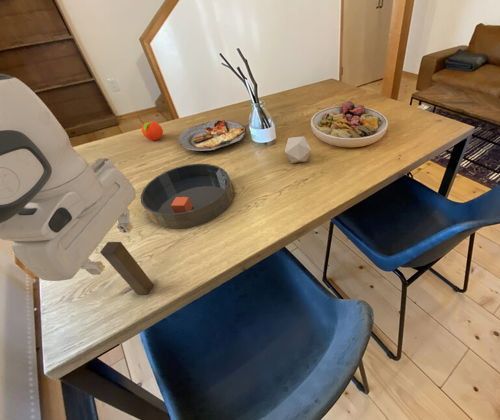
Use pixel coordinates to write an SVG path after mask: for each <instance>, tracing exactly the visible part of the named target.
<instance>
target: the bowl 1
mask: <svg viewBox="0 0 500 420" xmlns="http://www.w3.org/2000/svg"><path fill="white" fill-rule="evenodd" d="M139 196H140V204H141V206H142V208H143V209H144V210H145V212H146V214H147V215H148V217H149V219H150V220H151V221H152V222H153V223H154V224H156V225H157V226H159V227H163V228H166V229H173V230H174V229H175V230H178V229H179V230H181V229H189V228H193V227H197V226H200V225H203V224H206V223H207V222H210V221H212V220H213V219H216V218H217V217H218V216H220V215H221V214H223V212H224V211H226V210H227V209H228V207H229V206H230V205H231V203H232V201H233V198H234V188H233V185H232V181H231V178H230V176H229V174H228V171H226V170H225V169H224V168H223V167H220V166H218V165H215V164H211V163H210V164H209V163H192V164H185V165H181V166H177V167H174V168H171V169H169V170H166V171H164V172H162V173H160V174H159V175H157V176H155V177H154V178H153V179H152V180H150V181H149V182H148V183H147V184H146V185H145V186H144V188H143V189H142V191H141V193H140V195H139ZM176 197H189V199H190V201H191V203H192V206H193V207H192V209H191V210H190V211H187V212H181V213H174V211H173V209H172V207H171V204H172V203H173V201H174V199H175V198H176Z"/></svg>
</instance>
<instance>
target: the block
mask: <svg viewBox="0 0 500 420" xmlns="http://www.w3.org/2000/svg"><path fill="white" fill-rule="evenodd" d="M171 207H172V209H173V211H174V213H181V212H187V211H190V210H191V209H192V207H193V206H192V203H191V201H190V199H189V197H176V198H175V199H174V201H173V203H172V204H171Z"/></svg>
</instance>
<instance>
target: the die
mask: <svg viewBox="0 0 500 420" xmlns="http://www.w3.org/2000/svg"><path fill="white" fill-rule="evenodd" d="M311 151H312V149H311V147H310V145H309V144H308V141H307V139H306V137H305V136H304V135H302V136H293V137H288V138H287V141H286V145H285V148H284V152H285V155H286V156H287V158H288V160H289V161H290V163H291V164H296V163H306V162H307V161H308V159H309V156H310V154H311Z"/></svg>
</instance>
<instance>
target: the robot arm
mask: <svg viewBox="0 0 500 420" xmlns="http://www.w3.org/2000/svg"><path fill="white" fill-rule="evenodd" d="M136 193H137V192H136V189H135V187H134V186H133V184H132V183H131V182H130V180H129V179H128V178H127V177H126V175H125V174H124V173H123V172H122V171H121V170H119V169H118V168H117V166H116V165H115V163H114V162H113V160H111V159H109V158H107V157H104V158H103V157H99V158H96V160H94V162H93V164H91V165H90V163H88V161H87V159H85V157H84V156H82V155H81V154H80V153H79V152H78V151H77V150H76V149H74V147H73V145H72V143H71V140H70V138H69V135H68V133H67V131H66V130H65V129H64V127H63V125H61V123H60V122H59V120H58V119H57V117H56V116H55V115H54V114H53V112H52V111H51V109H49V107H48V106H47V105H46V104H45V102H43V100H42V99H41V98H40V97H39V96H38V95H37V94H36V93H35V92H34V91H33V90H32V89H31V88H30V86H28V85H27V84H25V83H24V82H23V81H21V80H20V79H19V78H17V77H15V76H13V75H9V74H5V73H1V72H0V240H2V241H10V242H12V245H11V247H12V248H11V249H12V252H13V254H14V256H15V257H16V258H17V259H18V260H19V262H20V263H21V264H22V265H23V266H25V267H26V269H28V270H29V271H30V272H31V273H32V274H34V275H35V276H36V277H37V278H39V279H40V280H42V281H48V282H62V281H69V280H72V279H73V278H75V276H76V275H77V273H78V272H79V271H80V270H85V271H86V272H87V273H88V274H90V275H93V276H98V275H101V274H102V273H103V271H104V270H105V268H106V265H104V263H103V262H102V261H99V260H97V261H95V260H94V261H92V260H91V259H90V257H91V255H92V254H93V253H94V252H95V250H96V249H97V247H98V246H99V245H100V244H101V242H102V241H103V240H104V238H105V237H106V236H107V235H108V234H109V232H110V231H111V229H112V228H113V227H114V226H115V225H116V223H118V224H117V225H116V228H117V229H118V230H119V232H120V233H122V234H128V233H131V231H132V230H133V228H134V225H133V224H132V222H131V216H130V210H129V207H130V205H131V204H132V202H133V201H134V200H135V198H136V197H137V194H136Z"/></svg>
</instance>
